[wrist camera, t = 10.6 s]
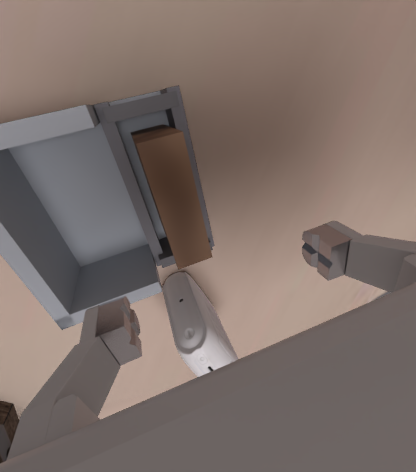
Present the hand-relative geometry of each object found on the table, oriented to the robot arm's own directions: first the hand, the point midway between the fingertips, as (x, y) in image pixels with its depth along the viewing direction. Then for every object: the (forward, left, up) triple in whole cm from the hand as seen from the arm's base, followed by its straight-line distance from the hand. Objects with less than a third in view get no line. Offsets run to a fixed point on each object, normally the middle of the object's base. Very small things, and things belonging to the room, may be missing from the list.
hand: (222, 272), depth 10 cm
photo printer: (+1, +17, -17) cm, 24 cm away
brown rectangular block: (0, 0, -16) cm, 16 cm away
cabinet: (+5, 0, -17) cm, 18 cm away
